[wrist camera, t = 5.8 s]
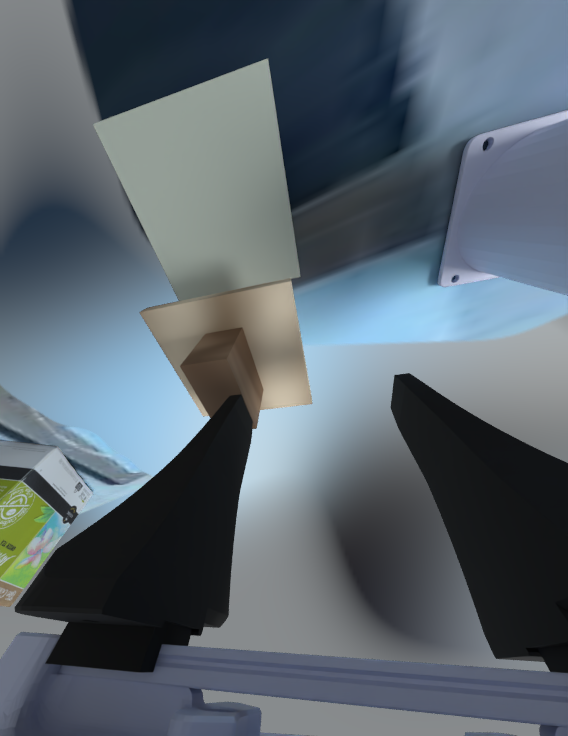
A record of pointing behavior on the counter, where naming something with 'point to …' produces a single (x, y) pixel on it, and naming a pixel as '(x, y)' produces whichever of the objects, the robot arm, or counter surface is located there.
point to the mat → (209, 182)
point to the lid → (236, 347)
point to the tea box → (33, 510)
